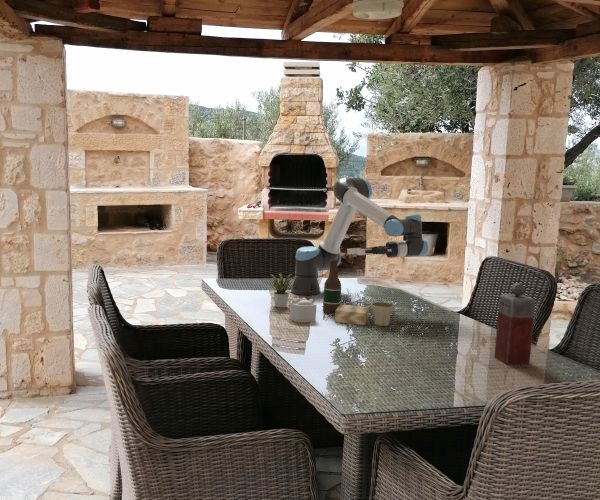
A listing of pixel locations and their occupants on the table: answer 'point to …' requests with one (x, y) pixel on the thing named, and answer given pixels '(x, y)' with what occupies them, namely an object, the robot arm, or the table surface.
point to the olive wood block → (352, 314)
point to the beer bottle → (332, 289)
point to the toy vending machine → (514, 327)
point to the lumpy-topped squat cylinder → (302, 310)
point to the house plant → (281, 291)
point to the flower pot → (382, 313)
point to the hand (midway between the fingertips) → (352, 251)
